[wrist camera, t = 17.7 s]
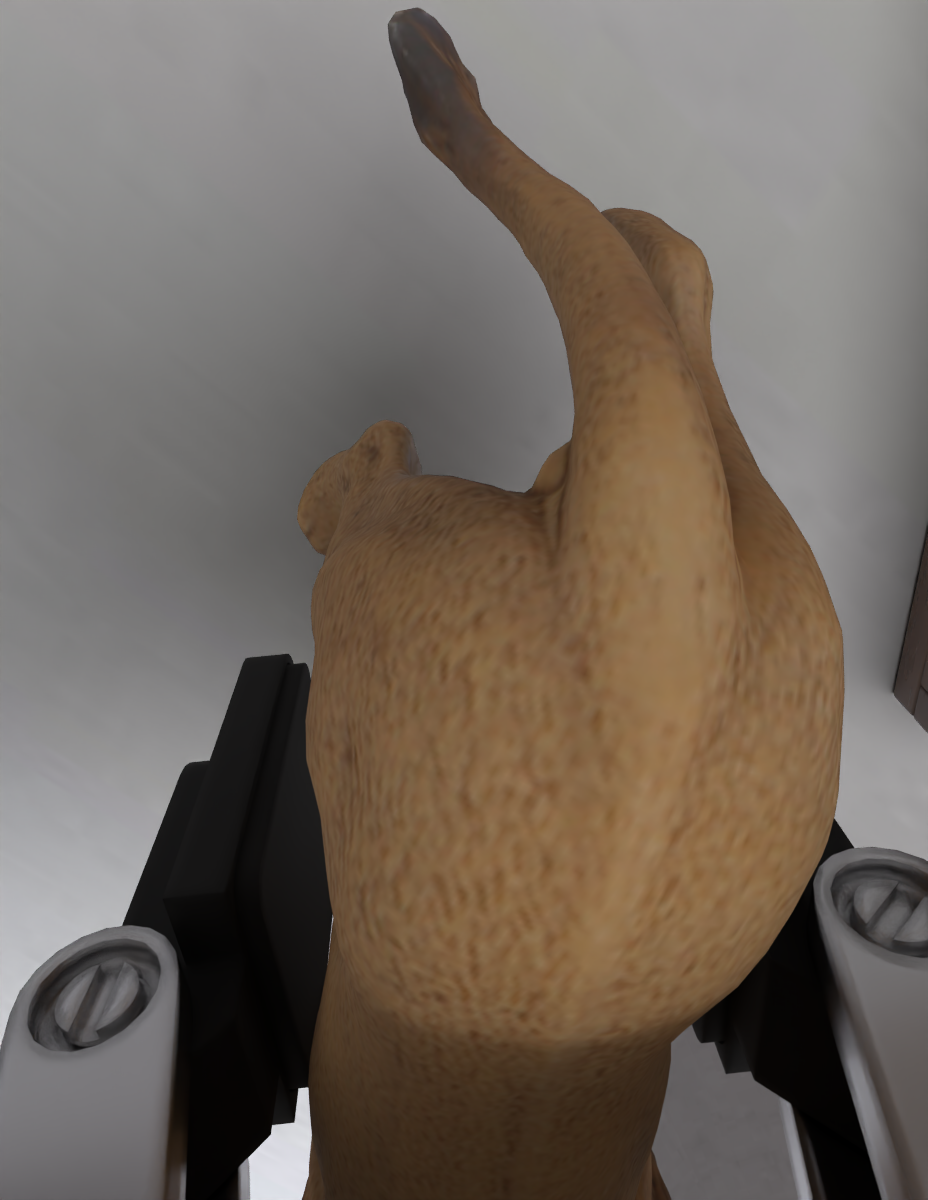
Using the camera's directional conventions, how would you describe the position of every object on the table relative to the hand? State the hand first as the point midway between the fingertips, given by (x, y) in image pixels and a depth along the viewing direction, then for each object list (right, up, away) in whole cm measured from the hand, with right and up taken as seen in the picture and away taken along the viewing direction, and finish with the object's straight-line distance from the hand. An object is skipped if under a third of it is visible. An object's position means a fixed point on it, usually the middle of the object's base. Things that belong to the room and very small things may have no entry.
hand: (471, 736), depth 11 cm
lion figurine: (0, 0, +1) cm, 1 cm away
